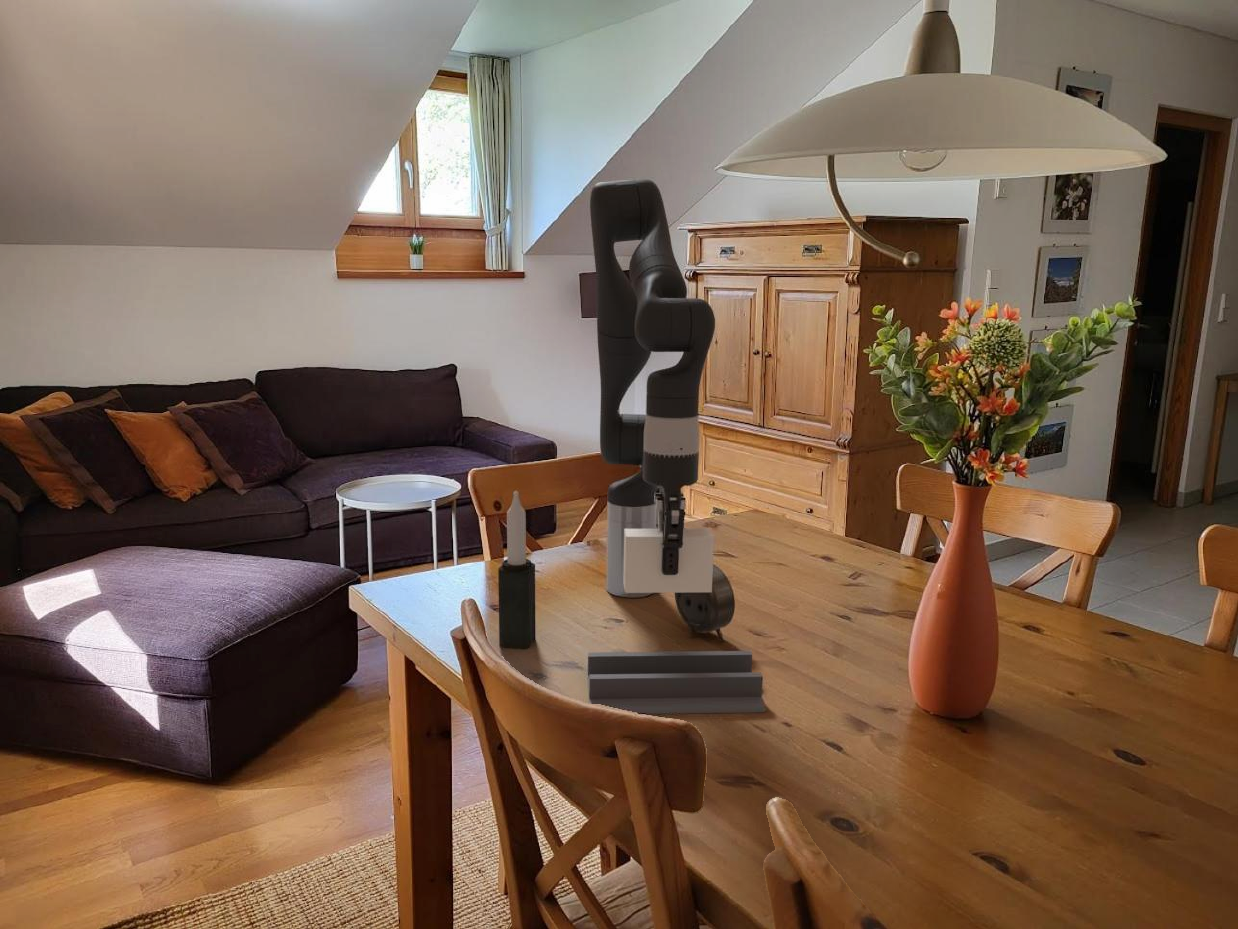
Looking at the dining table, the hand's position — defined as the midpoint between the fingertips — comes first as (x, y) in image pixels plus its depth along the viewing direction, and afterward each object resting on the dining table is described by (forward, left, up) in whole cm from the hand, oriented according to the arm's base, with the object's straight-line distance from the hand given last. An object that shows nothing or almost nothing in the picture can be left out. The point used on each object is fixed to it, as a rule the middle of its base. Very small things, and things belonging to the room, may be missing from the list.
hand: (668, 568), depth 128 cm
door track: (0, +1, -18) cm, 18 cm away
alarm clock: (-20, +8, -19) cm, 28 cm away
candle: (-18, -22, -19) cm, 34 cm away
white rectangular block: (0, 0, -3) cm, 3 cm away
